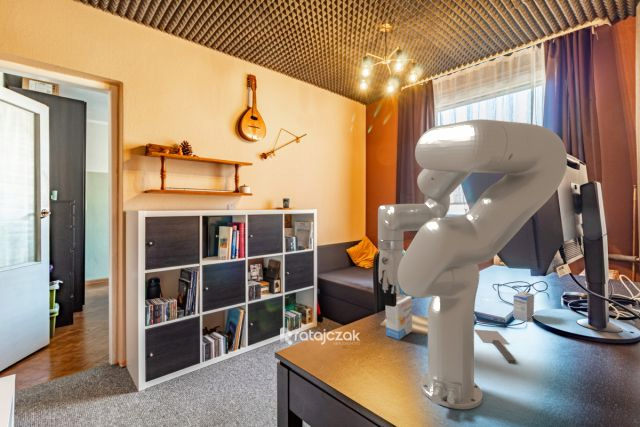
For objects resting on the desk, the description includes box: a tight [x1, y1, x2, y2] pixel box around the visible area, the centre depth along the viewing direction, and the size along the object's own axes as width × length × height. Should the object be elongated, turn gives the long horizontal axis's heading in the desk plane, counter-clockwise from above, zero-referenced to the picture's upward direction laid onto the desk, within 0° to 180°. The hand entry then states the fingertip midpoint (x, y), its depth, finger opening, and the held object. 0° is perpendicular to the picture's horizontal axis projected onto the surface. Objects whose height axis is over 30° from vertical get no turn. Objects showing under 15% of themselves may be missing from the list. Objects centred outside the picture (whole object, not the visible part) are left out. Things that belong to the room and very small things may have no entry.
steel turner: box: [474, 329, 517, 365], centre depth 88 cm, size 21×7×1 cm, turn 168°
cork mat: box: [379, 314, 428, 337], centre depth 106 cm, size 15×16×1 cm
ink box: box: [385, 284, 413, 341], centre depth 96 cm, size 8×5×15 cm, turn 134°
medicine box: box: [512, 291, 535, 322], centre depth 110 cm, size 8×4×9 cm, turn 130°
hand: (390, 305), depth 90 cm, fingers closed
